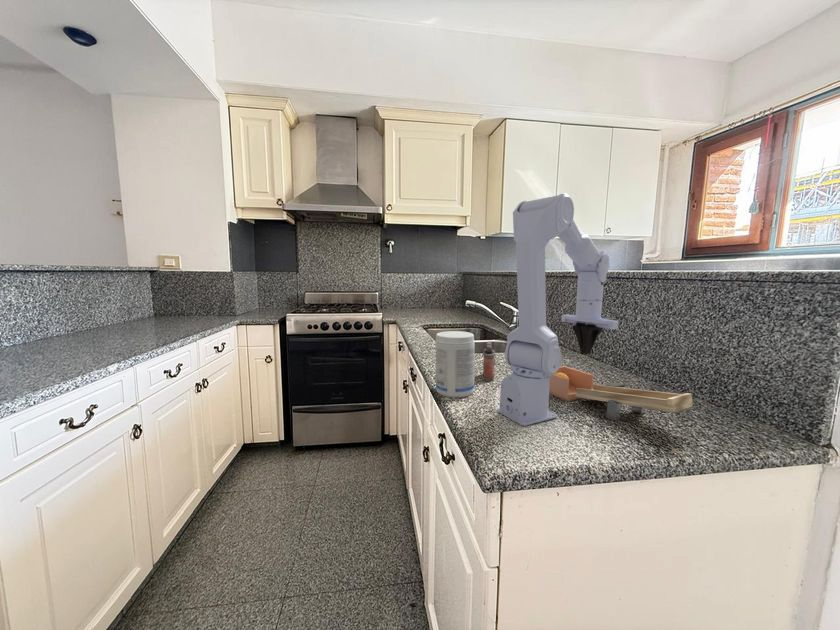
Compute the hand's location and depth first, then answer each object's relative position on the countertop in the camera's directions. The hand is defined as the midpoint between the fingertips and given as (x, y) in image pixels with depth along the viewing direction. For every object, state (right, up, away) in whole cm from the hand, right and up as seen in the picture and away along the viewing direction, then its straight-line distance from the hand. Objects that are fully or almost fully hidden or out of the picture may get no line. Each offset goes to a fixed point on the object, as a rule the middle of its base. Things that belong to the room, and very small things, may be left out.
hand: (585, 353), depth 82 cm
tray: (-6, -10, -2) cm, 11 cm away
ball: (-7, -7, 0) cm, 9 cm away
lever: (+4, -8, -14) cm, 16 cm away
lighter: (-23, -8, +10) cm, 26 cm away
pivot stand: (+1, -11, -15) cm, 19 cm away
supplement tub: (-34, -10, -2) cm, 35 cm away
